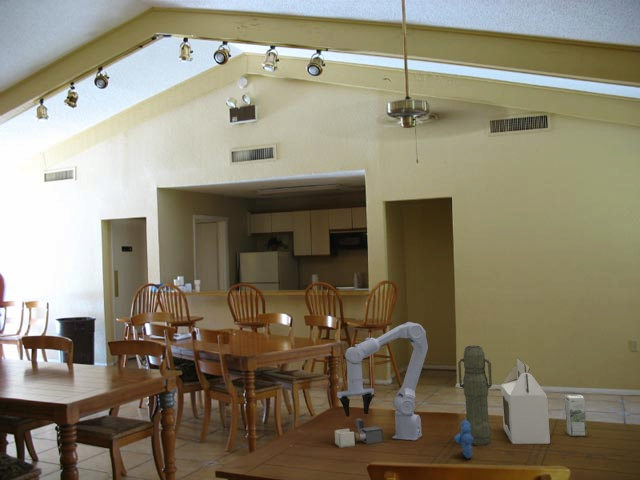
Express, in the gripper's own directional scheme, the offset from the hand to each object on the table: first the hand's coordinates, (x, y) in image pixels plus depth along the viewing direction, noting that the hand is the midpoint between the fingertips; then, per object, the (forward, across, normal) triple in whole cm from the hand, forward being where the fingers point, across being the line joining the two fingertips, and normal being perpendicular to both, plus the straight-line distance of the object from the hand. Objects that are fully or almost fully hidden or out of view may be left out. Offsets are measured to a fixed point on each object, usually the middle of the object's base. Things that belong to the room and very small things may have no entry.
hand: (356, 415), depth 241 cm
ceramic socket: (+10, +6, +2) cm, 12 cm away
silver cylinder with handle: (+9, -3, +3) cm, 10 cm away
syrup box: (+10, -75, +32) cm, 83 cm away
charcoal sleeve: (+10, -5, +3) cm, 11 cm away
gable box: (+10, -58, +25) cm, 64 cm away
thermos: (+10, -38, +24) cm, 46 cm away
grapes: (+10, -24, +36) cm, 44 cm away
